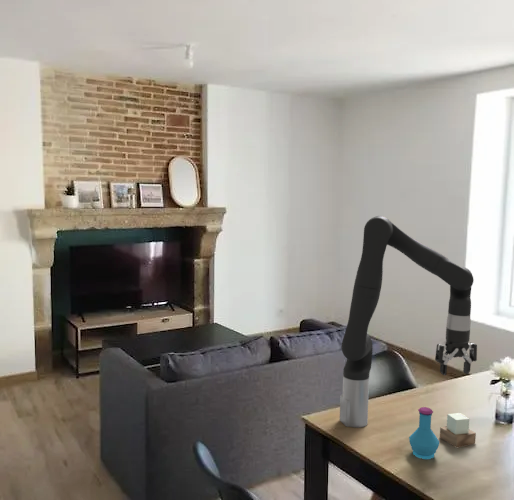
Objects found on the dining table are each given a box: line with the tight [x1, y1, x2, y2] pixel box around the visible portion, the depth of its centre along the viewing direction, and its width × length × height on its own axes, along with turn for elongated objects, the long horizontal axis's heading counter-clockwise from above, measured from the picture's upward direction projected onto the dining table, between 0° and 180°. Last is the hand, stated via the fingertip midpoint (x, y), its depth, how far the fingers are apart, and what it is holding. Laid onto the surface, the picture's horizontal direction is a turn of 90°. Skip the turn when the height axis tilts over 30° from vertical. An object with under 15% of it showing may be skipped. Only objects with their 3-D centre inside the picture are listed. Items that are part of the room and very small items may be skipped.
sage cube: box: [446, 412, 470, 435], centre depth 188 cm, size 5×5×5 cm
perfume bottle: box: [408, 406, 440, 460], centre depth 178 cm, size 9×9×15 cm
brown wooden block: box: [439, 425, 477, 449], centre depth 188 cm, size 8×8×4 cm
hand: (454, 373), depth 188 cm, fingers open, 8 cm apart
